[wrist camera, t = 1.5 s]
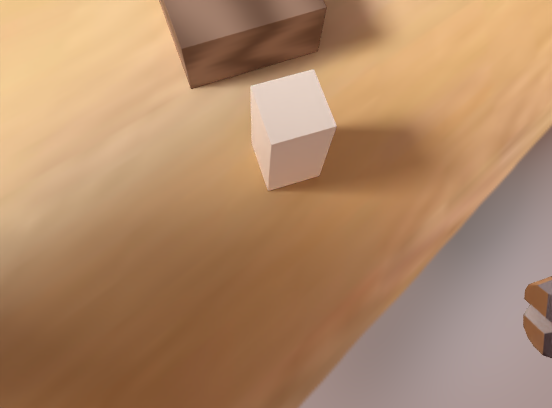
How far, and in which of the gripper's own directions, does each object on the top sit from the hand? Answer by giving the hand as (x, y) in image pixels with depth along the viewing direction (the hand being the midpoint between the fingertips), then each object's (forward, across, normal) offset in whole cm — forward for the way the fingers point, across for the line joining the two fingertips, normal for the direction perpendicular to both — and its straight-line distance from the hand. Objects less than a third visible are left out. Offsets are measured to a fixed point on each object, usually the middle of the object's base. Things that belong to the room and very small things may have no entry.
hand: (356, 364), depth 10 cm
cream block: (+29, -5, +8) cm, 31 cm away
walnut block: (+40, -5, -3) cm, 40 cm away
